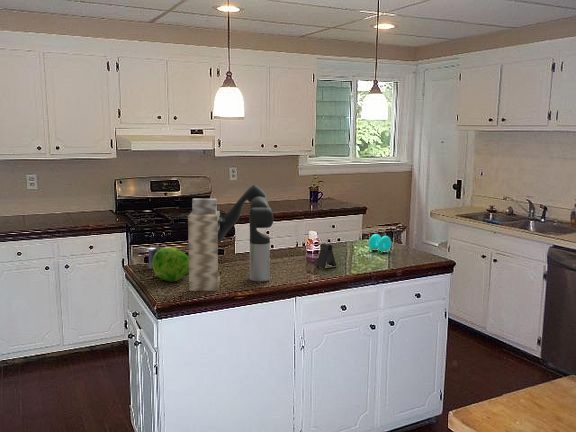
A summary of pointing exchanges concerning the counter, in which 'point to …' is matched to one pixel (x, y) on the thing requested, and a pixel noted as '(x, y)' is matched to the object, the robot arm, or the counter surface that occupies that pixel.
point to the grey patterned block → (204, 206)
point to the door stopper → (325, 256)
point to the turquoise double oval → (380, 242)
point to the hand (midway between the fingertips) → (209, 212)
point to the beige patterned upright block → (203, 252)
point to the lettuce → (170, 264)
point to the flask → (152, 253)
